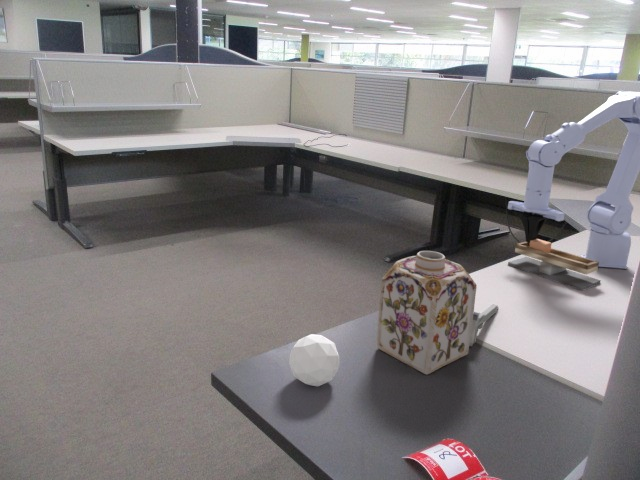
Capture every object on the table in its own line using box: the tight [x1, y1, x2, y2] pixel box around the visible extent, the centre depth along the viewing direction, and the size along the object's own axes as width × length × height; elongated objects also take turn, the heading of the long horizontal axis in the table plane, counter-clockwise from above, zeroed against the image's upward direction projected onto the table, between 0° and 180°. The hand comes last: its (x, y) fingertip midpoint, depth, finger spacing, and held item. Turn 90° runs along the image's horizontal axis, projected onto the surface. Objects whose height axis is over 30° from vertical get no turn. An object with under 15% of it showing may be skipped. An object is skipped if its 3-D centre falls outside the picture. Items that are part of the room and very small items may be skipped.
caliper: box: [469, 304, 499, 347], centre depth 103 cm, size 20×1×6 cm, turn 150°
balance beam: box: [507, 241, 602, 291], centre depth 132 cm, size 20×8×6 cm, turn 36°
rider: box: [529, 238, 552, 253], centre depth 134 cm, size 4×3×2 cm
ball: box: [288, 333, 340, 387], centre depth 82 cm, size 8×8×8 cm
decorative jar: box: [376, 250, 477, 376], centre depth 90 cm, size 12×12×18 cm
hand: (530, 241), depth 136 cm, fingers closed
